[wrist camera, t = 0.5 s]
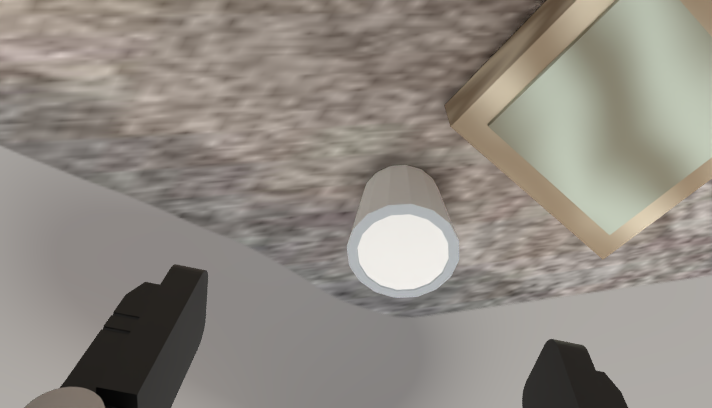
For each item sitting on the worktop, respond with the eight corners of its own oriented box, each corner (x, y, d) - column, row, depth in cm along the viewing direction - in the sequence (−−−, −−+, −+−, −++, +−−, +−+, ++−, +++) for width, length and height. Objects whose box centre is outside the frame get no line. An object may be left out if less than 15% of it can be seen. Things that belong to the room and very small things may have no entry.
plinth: (624, -81, 29) (659, -80, 26) (766, 84, 33) (816, 106, 29) (444, 105, 35) (451, 129, 31) (583, 228, 39) (605, 263, 35)
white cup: (358, 151, 37) (352, 198, 31) (457, 162, 37) (470, 211, 31) (349, 235, 40) (341, 292, 34) (440, 245, 40) (449, 305, 34)
